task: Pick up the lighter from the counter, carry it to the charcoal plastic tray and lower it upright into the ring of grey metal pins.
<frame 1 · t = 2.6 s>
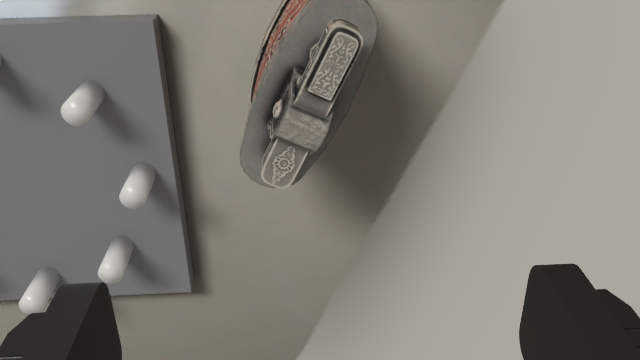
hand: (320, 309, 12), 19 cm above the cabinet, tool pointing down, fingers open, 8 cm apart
lighter: (300, 41, 29), on the cabinet
pin tray: (30, 166, 31), on the cabinet
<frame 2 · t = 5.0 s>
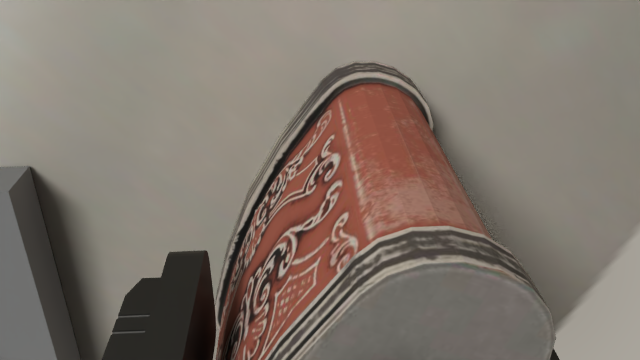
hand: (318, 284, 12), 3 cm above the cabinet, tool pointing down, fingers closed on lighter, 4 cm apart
lighter: (313, 208, 15), on the cabinet, touching gripper
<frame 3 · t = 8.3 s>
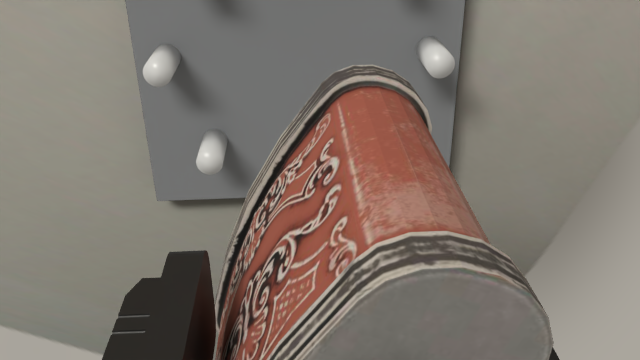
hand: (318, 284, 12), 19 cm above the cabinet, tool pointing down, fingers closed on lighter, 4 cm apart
lighter: (312, 210, 15), point 16 cm above the cabinet, touching gripper
pin tray: (298, 45, 29), on the cabinet
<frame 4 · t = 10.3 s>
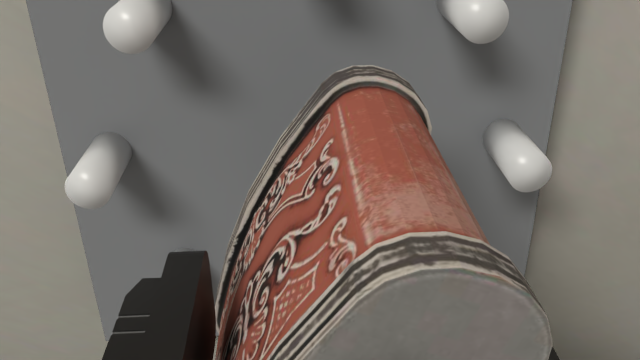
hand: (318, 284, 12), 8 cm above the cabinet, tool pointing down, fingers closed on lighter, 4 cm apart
lighter: (312, 211, 15), point 5 cm above the cabinet, touching gripper
pin tray: (307, 128, 20), on the cabinet
when the fingers open (5 cm above the cabinet, at t = 11.6 s): lighter stays where it is, resting on pin tray.
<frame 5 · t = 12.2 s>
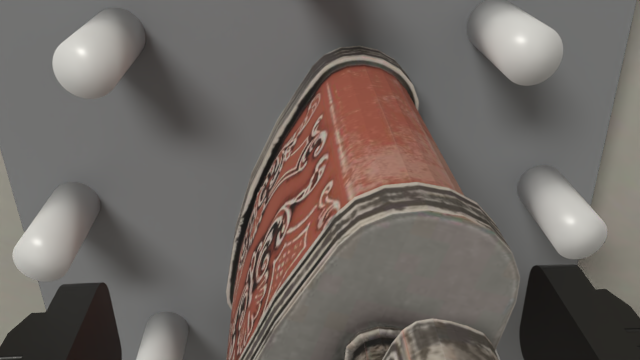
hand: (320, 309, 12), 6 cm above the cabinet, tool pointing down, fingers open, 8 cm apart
lighter: (313, 189, 16), point 1 cm above the cabinet, touching pin tray
pin tray: (309, 172, 17), on the cabinet
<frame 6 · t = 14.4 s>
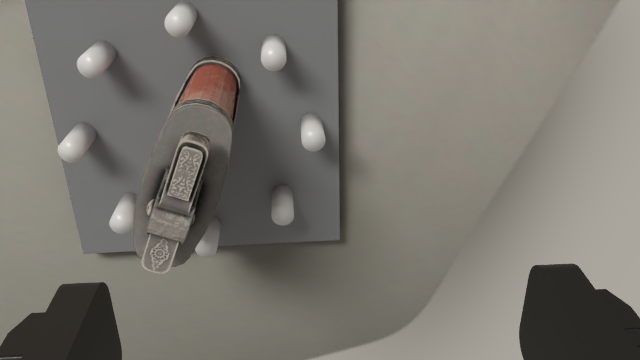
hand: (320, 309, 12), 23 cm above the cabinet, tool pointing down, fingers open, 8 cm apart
lighter: (200, 125, 33), point 1 cm above the cabinet, touching pin tray
pin tray: (201, 119, 33), on the cabinet
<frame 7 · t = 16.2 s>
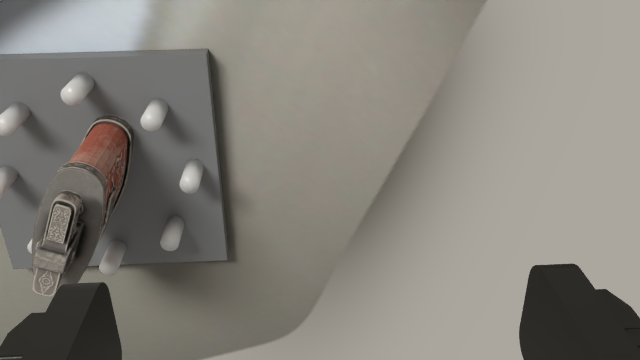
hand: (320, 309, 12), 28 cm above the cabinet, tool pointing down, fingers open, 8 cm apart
lighter: (103, 168, 40), point 1 cm above the cabinet, touching pin tray
pin tray: (106, 162, 41), on the cabinet
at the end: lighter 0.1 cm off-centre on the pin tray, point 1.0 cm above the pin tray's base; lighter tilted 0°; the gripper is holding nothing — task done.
